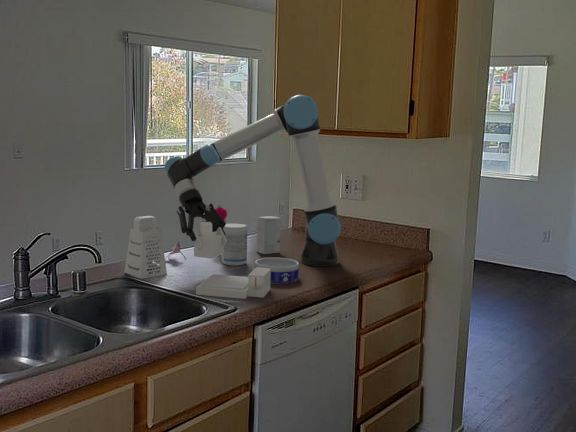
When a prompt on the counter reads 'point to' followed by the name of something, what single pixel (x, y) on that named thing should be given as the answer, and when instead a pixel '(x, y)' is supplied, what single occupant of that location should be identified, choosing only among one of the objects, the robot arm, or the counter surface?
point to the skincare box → (268, 234)
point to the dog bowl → (280, 269)
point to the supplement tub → (235, 245)
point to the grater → (145, 250)
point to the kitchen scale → (237, 285)
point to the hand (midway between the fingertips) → (213, 246)
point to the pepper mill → (221, 212)
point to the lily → (176, 249)
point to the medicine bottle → (209, 240)
